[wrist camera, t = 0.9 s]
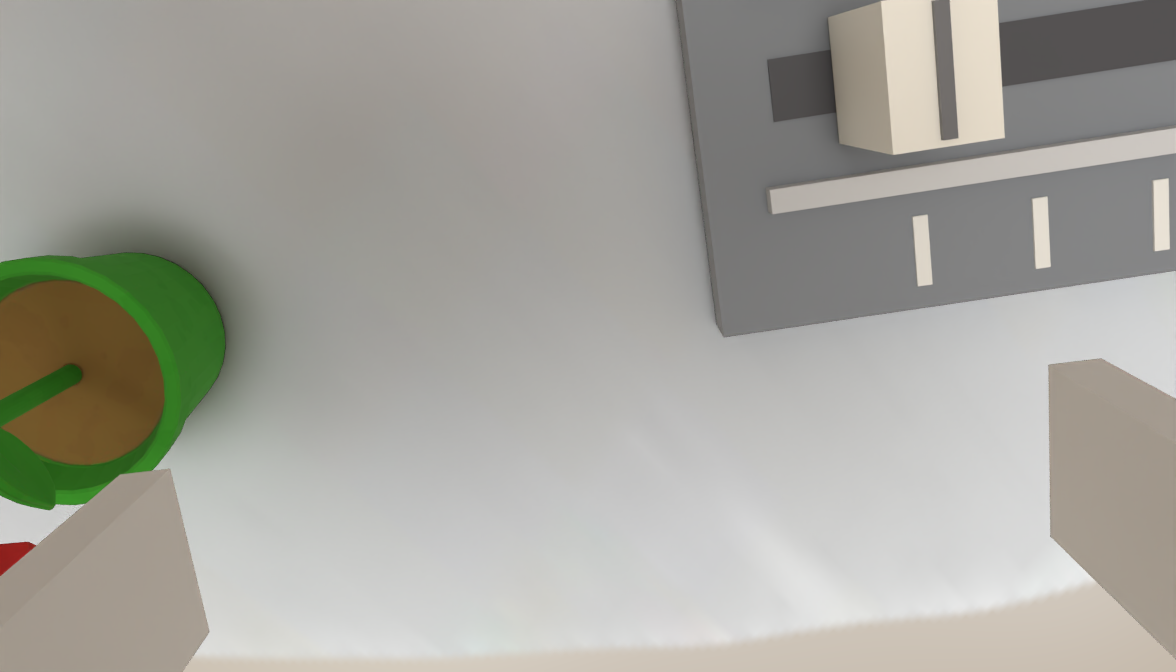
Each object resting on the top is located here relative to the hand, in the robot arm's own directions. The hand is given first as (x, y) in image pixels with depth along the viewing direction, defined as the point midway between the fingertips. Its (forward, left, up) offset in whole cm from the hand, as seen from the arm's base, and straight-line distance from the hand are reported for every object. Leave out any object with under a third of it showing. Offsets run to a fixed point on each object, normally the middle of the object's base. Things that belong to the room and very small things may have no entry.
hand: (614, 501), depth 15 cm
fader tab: (-5, +10, -20) cm, 23 cm away
